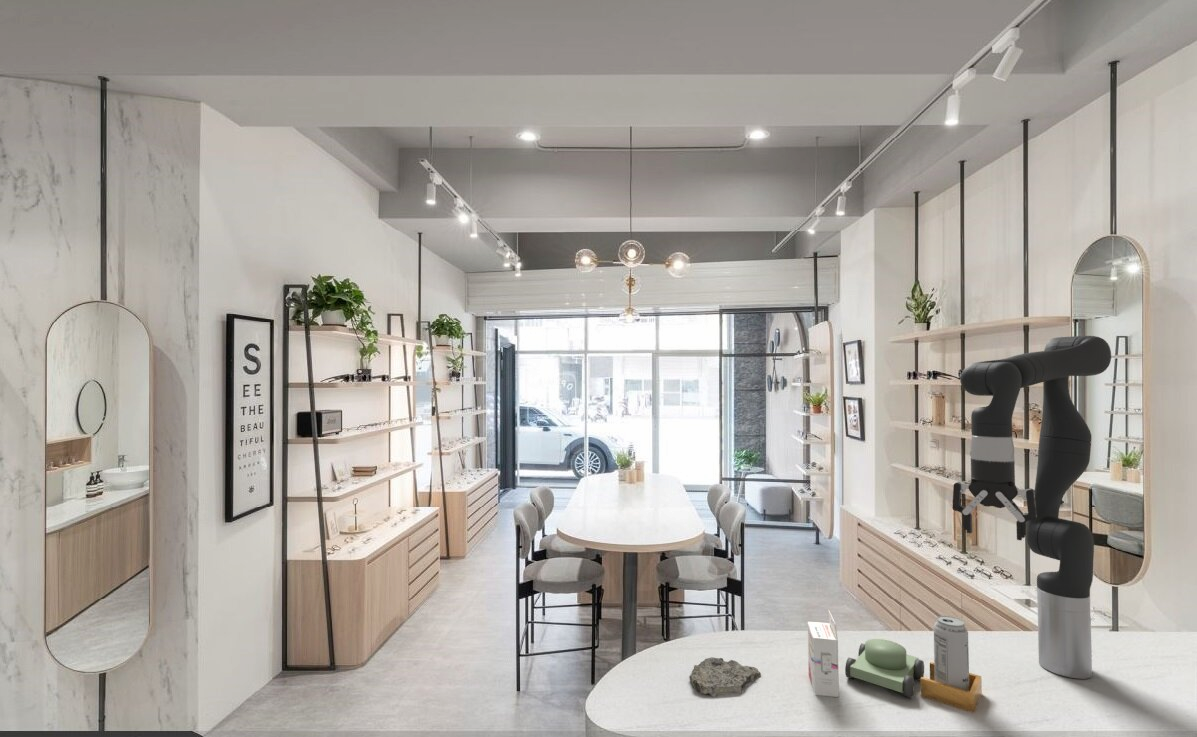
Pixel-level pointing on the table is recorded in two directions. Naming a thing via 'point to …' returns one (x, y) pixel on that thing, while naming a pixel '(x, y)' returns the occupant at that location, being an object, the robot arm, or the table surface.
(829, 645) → the ink cartridge box
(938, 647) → the energy drink can
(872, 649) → the green toy car
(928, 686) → the bracket
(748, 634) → the table surface
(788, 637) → the table surface
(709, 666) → the stone slab
